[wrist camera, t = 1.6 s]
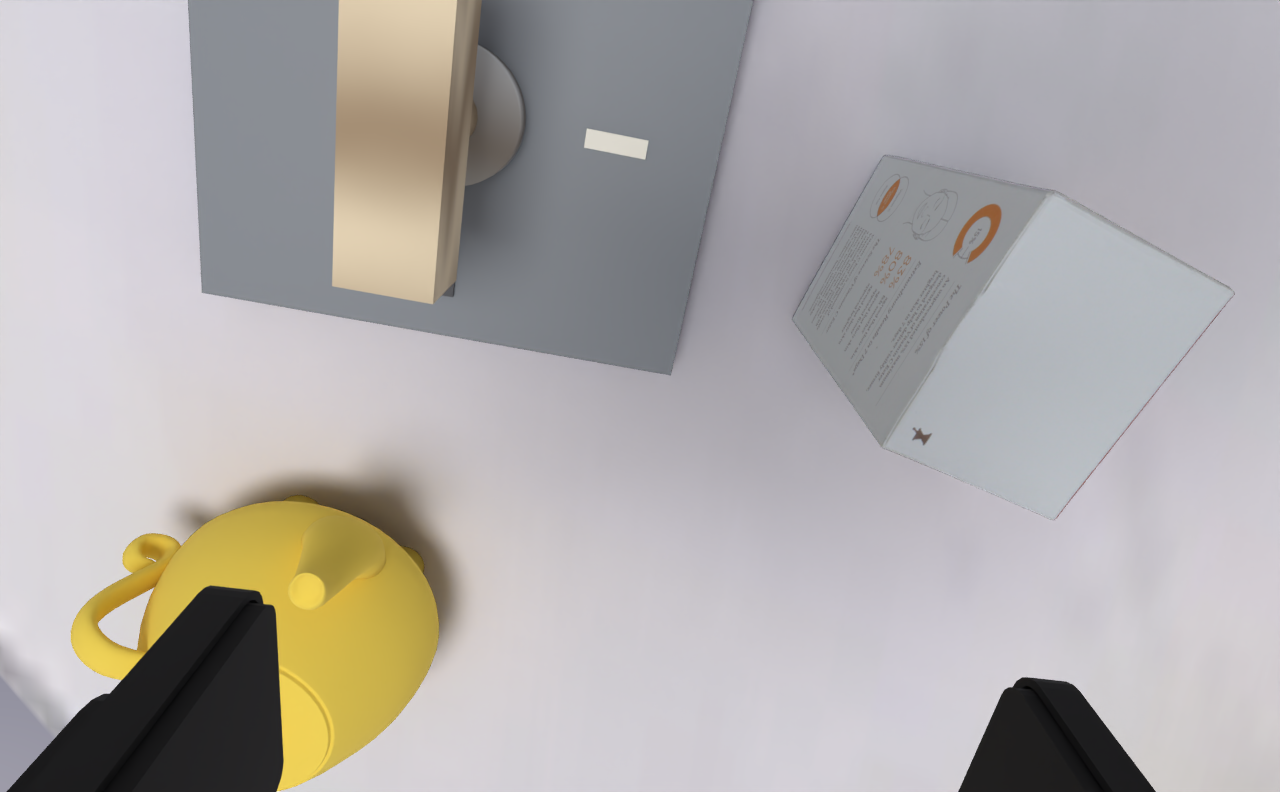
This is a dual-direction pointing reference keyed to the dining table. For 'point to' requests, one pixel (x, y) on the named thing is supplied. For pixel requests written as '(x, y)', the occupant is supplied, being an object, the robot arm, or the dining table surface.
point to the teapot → (293, 617)
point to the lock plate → (500, 205)
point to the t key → (414, 140)
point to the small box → (998, 327)
